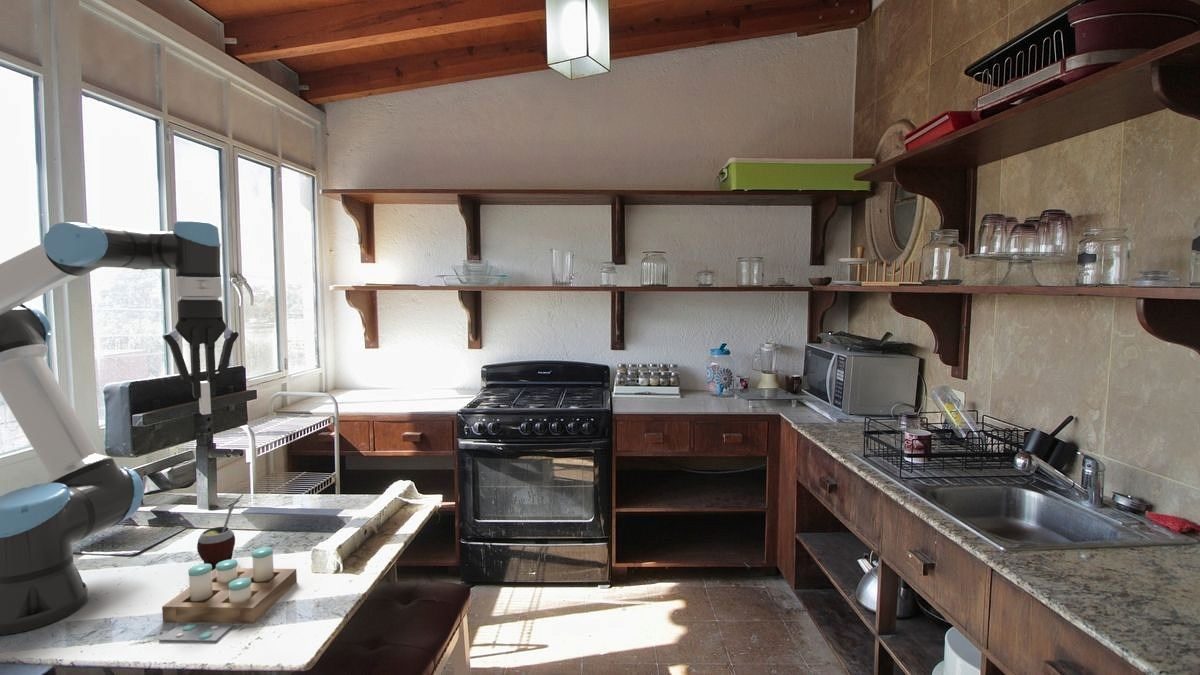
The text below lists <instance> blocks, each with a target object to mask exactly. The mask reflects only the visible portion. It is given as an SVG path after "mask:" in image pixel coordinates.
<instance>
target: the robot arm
mask: <svg viewBox="0 0 1200 675" xmlns="http://www.w3.org/2000/svg"><path fill="white" fill-rule="evenodd" d="M221 245H222V244H221V242H220V234H219V228H218V226H217V225H216V224H215V223H212V222H207V221H201V220H200V221H198V220H177V221H174V223H173V229H172V231H151V230H149V231H148V230H140V229H131V228H124V227H115V226H114V227H113V226H106V225H98V224H91V223H87V222H81V221H80V222H78V221H77V222H75V221H74V222H70V221H68V222H67V221H64V222H63V221H62V222H57V223H55V224H53V225H51V226H50V227H49V228H48V231H47V232H46V233H45V234H44V236H43V243H40V244H39V245H36V246H35V247H32V248H29V249H28V250H27V251H23V252H22V253H20V254H17V255H15V256H13V257H12V258H10V259H7V260H6V261H4V262H1V263H0V394H1V397H2V399H4V401H5V403H6V404H7V406H8V408H9V410H10V411H11V413H12V415H13V417H14V418H15V420H16V421H17V424H18V425H19V427H20V429H21V430H22V432H23V434H24V435H25V437H26V439H27V440H28V442H29V444H30V446H31V447H32V449H33V451H34V452H35V453H36V457H38V459H39V461H40V462H41V465H43V467H44V469H45V472H47V474H48V477H47V479H46V481H45V483H38V484H33V485H30V486H29V487H22V488H17V489H15V490H12V491H9V492H7V493H4V494H3V495H1V496H0V636H5V635H11V634H17V633H22V632H26V631H31V630H34V629H37V628H41V627H44V626H47V625H50V624H52V623H56V622H58V621H60V620H61V619H64V618H66V617H68V616H70V615H72V614H74V613H76V612H77V611H78V610H80V609H82V607H83V606H85V605H86V603H87V602H88V599H89V594H88V586H87V584H86V583H85V582H84V581H83V579H82V577H81V574H80V572H79V570H78V568H77V567H76V565H75V563H74V551H73V550H74V548H73V546H74V544H75V543H77V542H80V541H81V540H84V539H86V538H88V537H91V536H92V535H94V534H97V533H99V532H102V531H104V530H107V529H108V528H113V527H115V526H117V525H118V524H120V523H122V522H124V521H125V520H127V519H129V518H131V517H132V516H133V515H134V514H135V513H136V512H138V510H139V509H140V507H141V506H142V502H143V499H144V495H145V489H144V484H143V480H142V478H141V476H140V475H139V474H138V473H137V471H135V469H132V468H131V469H130V468H129V467H127V466H118V465H117V463H116V461H115V460H114V457H112V456H108V455H105V454H101V453H100V452H99V450H98V449H97V447H96V446H95V444H94V442H93V440H92V438H91V436H90V435H89V433H88V432H87V430H86V428H85V427H84V425H83V423H82V422H81V419H80V418H79V416H78V414H77V412H76V411H75V409H74V408H73V406H72V405H71V403H70V401H69V399H68V397H67V396H66V394H65V392H64V391H63V389H62V387H61V385H60V384H59V382H58V380H57V379H56V376H55V375H54V374H53V372H52V370H51V368H50V367H49V365H48V363H47V362H46V360H45V355H46V354H47V353H48V352H49V351H48V350H49V346H48V345H47V344H48V343H49V342H50V339H51V336H52V334H51V333H50V331H52V326H51V322H50V320H49V317H47V315H46V313H45V312H44V311H43V310H41V308H39V307H38V306H37V305H35V304H33V303H32V302H29V301H32V300H34V299H37V298H38V297H40V296H42V295H44V294H46V293H48V292H50V291H52V290H55V289H58V288H59V287H60V286H62V285H65V284H66V283H69V282H71V281H73V280H75V279H77V278H79V277H82V276H84V275H86V274H89V273H91V272H93V271H95V270H96V269H101V268H121V269H122V268H125V269H132V270H142V271H144V270H145V271H146V270H170V269H172V270H175V278H176V280H175V281H176V296H177V297H178V298H180V299H178V301H176V302H177V304H176V305H177V322H176V324H175V327H174V328H175V329H172V330H171V331H169V332H167V333H164V334H162V339H163V340H164V342H165V343H167V345H168V346H169V349H170V351H171V355H172V357H173V359H174V360H173V361H174V362H175V365H176V368H177V371H178V373H179V377H180V379H181V380H183V381H186V382H190V383H191V386H192V388H191V390H192V392H191V393H192V396H193V398H194V399H198V404H199V405H198V406H199V413H200V414H201V415H202V416H204V415H210V414H212V408H211V407H212V404H211V398H214V397H216V395H217V386H216V382H217V381H218V380H220V379H223V378H225V377H226V376H227V372H228V369H229V364H230V360H231V355H232V350H233V347H234V343H235V341H237V339H238V337H239V335H240V334H239V332H238V331H234V330H232V329H230V328H228V327H227V324H226V323H225V321H224V313H223V312H224V311H223V301H222V300H221V299H220V298H221V297H222V296H223V293H222V291H223V289H222V274H221ZM222 335H223V338H224V341H223V346H222V349H221V353H220V358H219V361H218V366H217V369H216V355H215V351H216V349H215V348H216V342H217V341H218V340H219V338H220V337H221V336H222ZM179 336H181V337H182V338H183V339H184V341H186V342H187V343H188V345H189V352H190V354H189V356H190V357H189V358H190V373H189V370H188V368H187V365H186V362H185V360H184V355H183V353H182V350H181V347H180V345H179V343H178V341H180V337H179ZM202 344H204V353H205V374H206V375H205V377H206V380H203V381H202V377H201V376H202V374H201V353H200V350H201V345H202Z"/></svg>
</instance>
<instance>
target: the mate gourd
mask: <svg viewBox="0 0 1200 675" xmlns="http://www.w3.org/2000/svg"><path fill="white" fill-rule="evenodd" d="M243 496H244V494H243V493H242V494H241V495H239V497H237V498H236V499H235V500H234V501H233V502H232V503H231V505H230V506H229V508H228V513H227V517H226V519H225V522H224V525H223V526H214V527H211V528H208V529H206V530H204V531H203V532H202V533H201V534H200V536H199V538H198V540H197V544H196V549H197V553H198V555H199V557H200V559H201V560H202V561H203V563H202V564H211V565H212V571H213V570H214V569H216V564H218V563H219V562H221V561H224V560H230V559H233V555H234V554H233V553H234V549H235V546H236V545H235V544H236V536H235V533H234V531H233V530H232V529H231V528H230V527H228V524H229V520H230V517H231V514H232V512H233V510H234V508H235V505H236V504H237V503H238V502H239V500H240V499H241V498H243Z"/></svg>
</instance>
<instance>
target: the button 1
mask: <svg viewBox="0 0 1200 675" xmlns="http://www.w3.org/2000/svg"><path fill="white" fill-rule="evenodd" d="M188 582H189V583H188V585H189V587H190V600H191V601H201V600H205V599H207V598H209V597H211V596H212V595H213V585H212V565H211V564H203V563H201V564H197V565H194V566H192V567H190V568H189V569H188Z"/></svg>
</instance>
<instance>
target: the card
mask: <svg viewBox="0 0 1200 675" xmlns="http://www.w3.org/2000/svg"><path fill="white" fill-rule="evenodd" d="M234 627H235V623H194V622H179V623H178V624H177V625H176V626H175V627H174V628H172V629H171V630H169V631H168V632H167V633H166V634H164V636H162V637H161V638H159V640H158V642H159V643H203V644H204V643H213V644H214V643H215V644H216V643H217V642H219V640H221V639H222V638H223V637H224V636H225V635H226V634H228V632H230V630H232V628H234Z"/></svg>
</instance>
